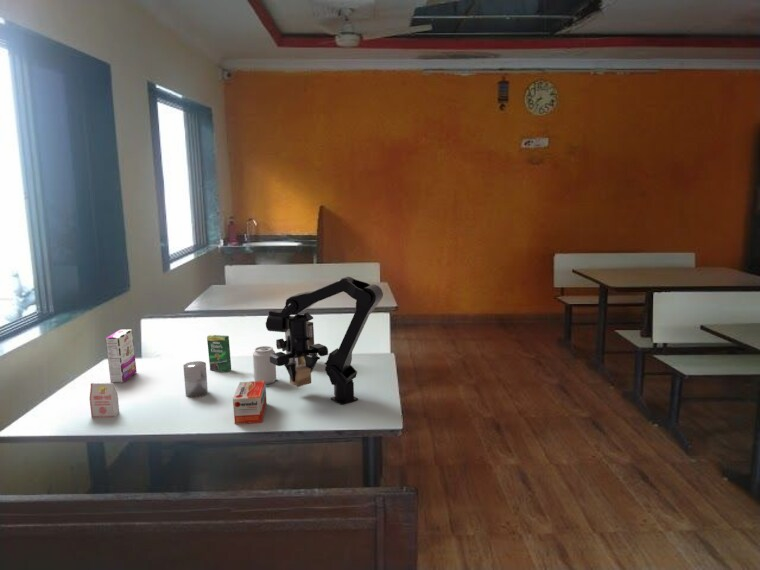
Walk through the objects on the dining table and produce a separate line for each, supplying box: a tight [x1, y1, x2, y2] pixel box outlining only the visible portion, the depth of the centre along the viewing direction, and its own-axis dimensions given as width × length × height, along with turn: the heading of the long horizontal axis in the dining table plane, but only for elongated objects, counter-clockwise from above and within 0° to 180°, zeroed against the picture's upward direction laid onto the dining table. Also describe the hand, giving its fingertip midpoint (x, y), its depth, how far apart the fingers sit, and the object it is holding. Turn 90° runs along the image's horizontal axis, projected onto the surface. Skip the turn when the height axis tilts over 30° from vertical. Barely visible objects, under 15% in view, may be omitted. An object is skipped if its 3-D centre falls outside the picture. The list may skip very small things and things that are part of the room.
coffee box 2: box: [284, 321, 315, 366], centre depth 224 cm, size 9×6×16 cm
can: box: [252, 345, 277, 385], centre depth 207 cm, size 8×8×12 cm
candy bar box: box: [105, 328, 137, 384], centre depth 213 cm, size 11×5×16 cm, turn 179°
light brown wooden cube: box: [289, 365, 312, 388], centre depth 194 cm, size 5×5×5 cm
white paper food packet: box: [89, 382, 120, 418], centre depth 180 cm, size 4×7×10 cm, turn 90°
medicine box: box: [232, 380, 268, 425], centre depth 179 cm, size 15×8×8 cm, turn 5°
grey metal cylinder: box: [182, 360, 209, 399], centre depth 196 cm, size 7×7×10 cm
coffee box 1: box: [206, 334, 232, 373], centre depth 220 cm, size 8×3×13 cm, turn 70°
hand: (300, 379), depth 194 cm, fingers closed on light brown wooden cube, 5 cm apart
